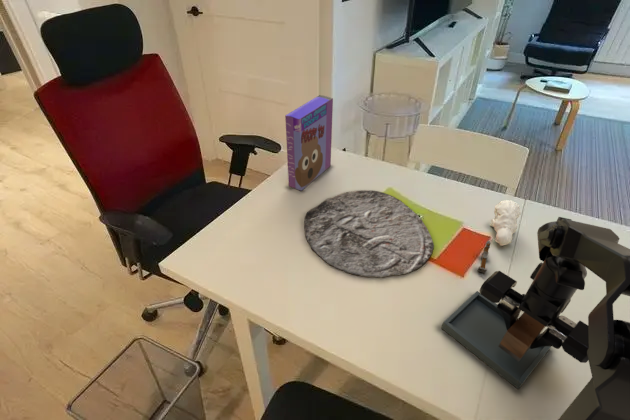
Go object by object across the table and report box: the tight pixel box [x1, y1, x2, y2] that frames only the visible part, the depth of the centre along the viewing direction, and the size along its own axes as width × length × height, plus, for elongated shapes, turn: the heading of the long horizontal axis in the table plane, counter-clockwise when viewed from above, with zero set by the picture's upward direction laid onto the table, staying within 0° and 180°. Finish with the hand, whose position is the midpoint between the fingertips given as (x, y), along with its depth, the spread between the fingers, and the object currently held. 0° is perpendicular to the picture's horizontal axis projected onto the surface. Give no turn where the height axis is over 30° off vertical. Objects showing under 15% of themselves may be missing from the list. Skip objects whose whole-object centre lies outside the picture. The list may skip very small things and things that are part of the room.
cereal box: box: [284, 94, 334, 192], centre depth 114 cm, size 17×5×24 cm, turn 147°
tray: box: [441, 290, 552, 390], centre depth 75 cm, size 17×13×2 cm
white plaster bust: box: [489, 199, 522, 247], centre depth 97 cm, size 6×8×12 cm
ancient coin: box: [303, 189, 435, 278], centre depth 100 cm, size 33×35×1 cm
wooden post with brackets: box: [477, 240, 492, 274], centre depth 91 cm, size 2×8×4 cm, turn 155°
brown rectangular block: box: [498, 312, 547, 362], centre depth 69 cm, size 4×8×5 cm, turn 130°
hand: (520, 339), depth 70 cm, fingers closed on brown rectangular block, 4 cm apart
